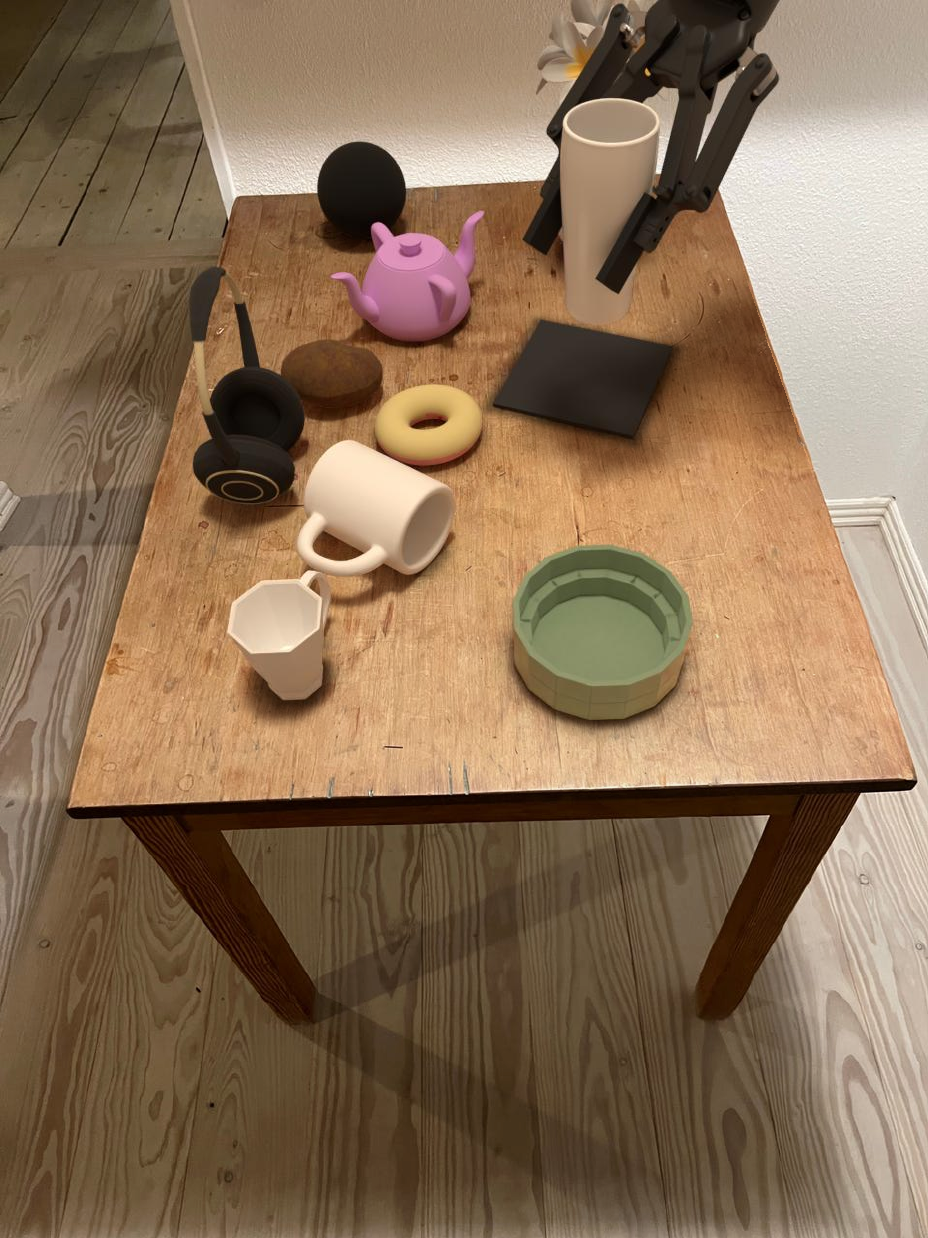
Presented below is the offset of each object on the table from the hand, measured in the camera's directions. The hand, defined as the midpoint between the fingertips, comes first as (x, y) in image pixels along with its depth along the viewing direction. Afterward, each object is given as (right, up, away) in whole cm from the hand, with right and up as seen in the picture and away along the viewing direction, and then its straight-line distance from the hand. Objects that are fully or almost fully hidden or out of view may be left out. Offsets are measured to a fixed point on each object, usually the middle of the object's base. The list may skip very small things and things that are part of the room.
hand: (570, 266), depth 70 cm
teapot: (-13, +6, +30) cm, 33 cm away
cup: (-20, -30, +4) cm, 36 cm away
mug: (-16, -21, +10) cm, 28 cm away
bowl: (+2, -29, +3) cm, 29 cm away
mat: (+4, -2, +23) cm, 23 cm away
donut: (-11, -9, +19) cm, 24 cm away
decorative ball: (-19, +19, +40) cm, 48 cm away
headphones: (-27, -13, +17) cm, 34 cm away
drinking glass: (+3, -1, +6) cm, 7 cm away
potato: (-21, -5, +23) cm, 31 cm away
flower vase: (+7, +16, +36) cm, 40 cm away
